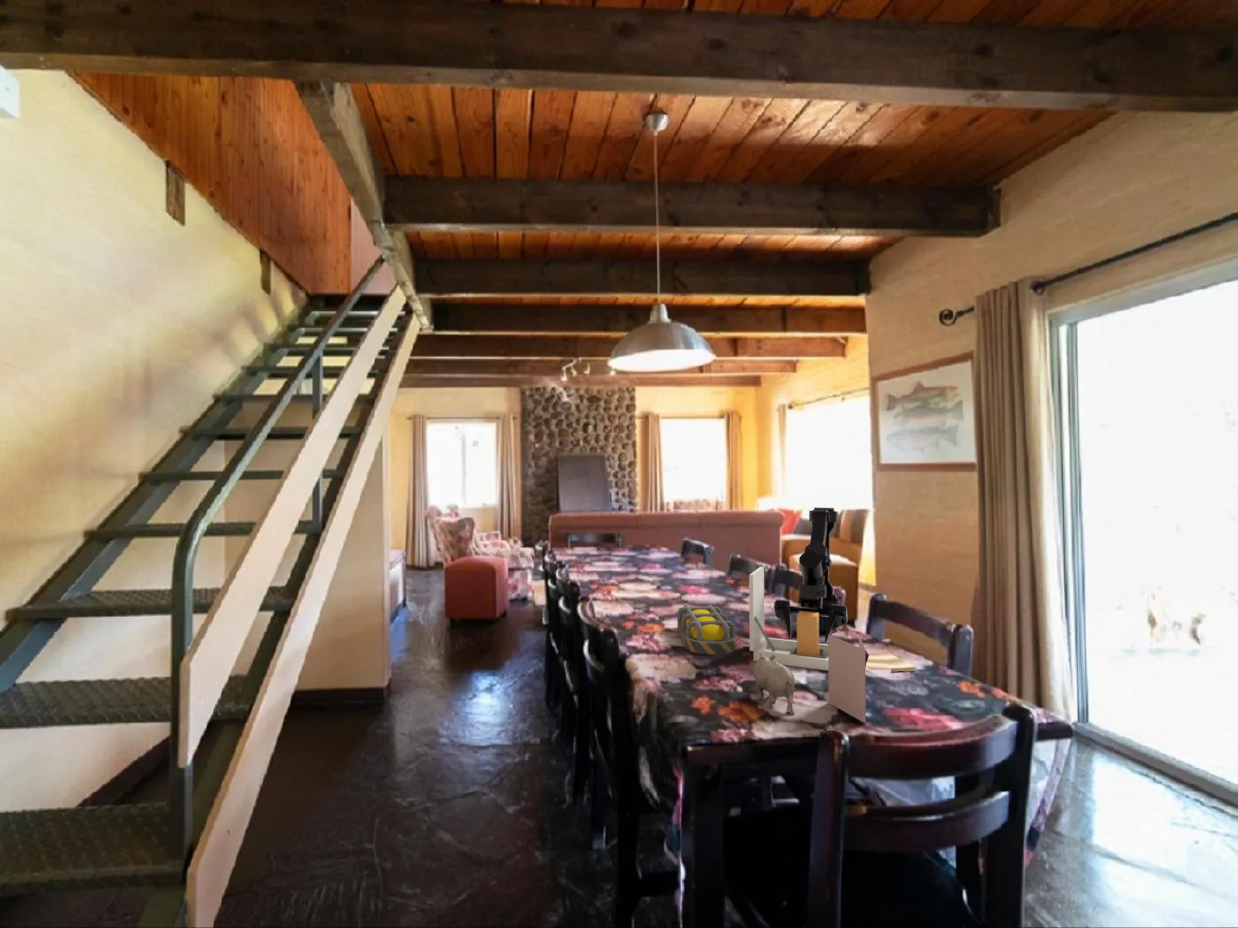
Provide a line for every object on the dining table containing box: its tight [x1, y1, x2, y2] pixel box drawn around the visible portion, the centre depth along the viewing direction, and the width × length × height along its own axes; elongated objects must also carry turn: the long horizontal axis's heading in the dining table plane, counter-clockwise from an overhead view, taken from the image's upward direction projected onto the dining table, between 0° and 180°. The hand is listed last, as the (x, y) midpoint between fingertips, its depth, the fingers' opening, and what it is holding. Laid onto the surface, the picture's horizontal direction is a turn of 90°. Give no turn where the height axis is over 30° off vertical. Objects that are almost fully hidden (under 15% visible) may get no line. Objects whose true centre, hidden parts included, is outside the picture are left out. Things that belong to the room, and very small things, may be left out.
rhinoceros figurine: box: [752, 654, 796, 716], centre depth 134 cm, size 8×14×15 cm
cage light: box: [676, 604, 736, 656], centre depth 183 cm, size 15×8×30 cm
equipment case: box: [748, 566, 828, 671], centre depth 162 cm, size 14×21×24 cm, turn 65°
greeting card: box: [827, 635, 869, 724], centre depth 129 cm, size 11×7×15 cm, turn 164°
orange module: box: [796, 611, 820, 657], centre depth 160 cm, size 5×5×12 cm
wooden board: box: [866, 652, 916, 673], centre depth 159 cm, size 12×12×1 cm
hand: (807, 639), depth 159 cm, fingers open, 9 cm apart
